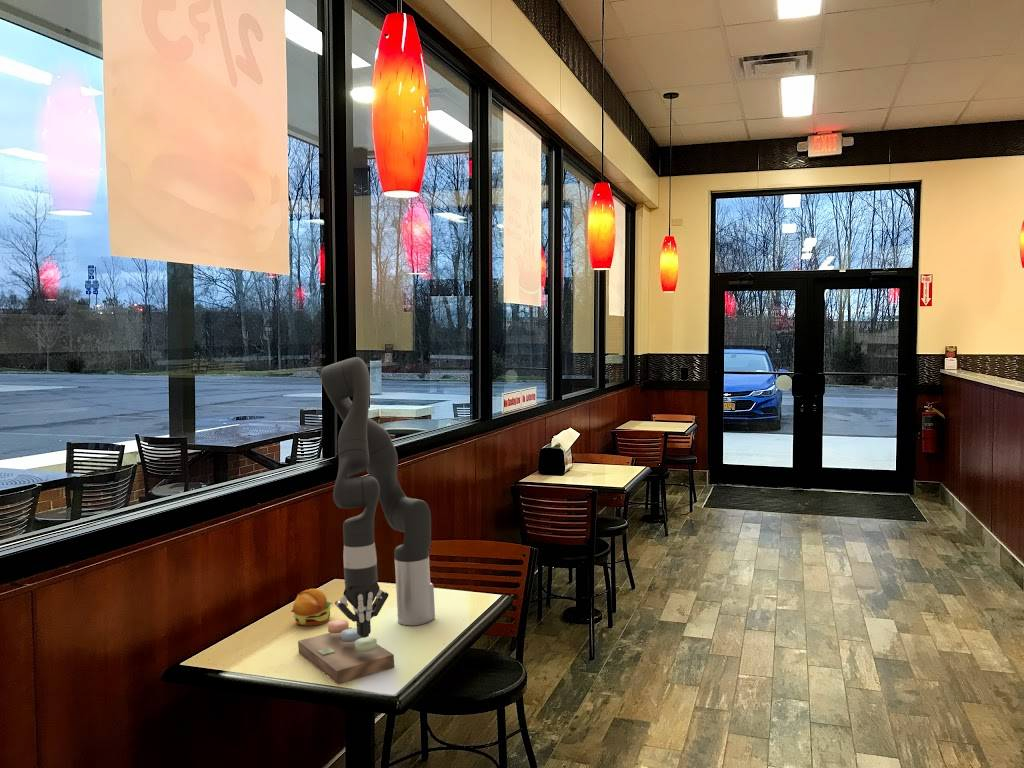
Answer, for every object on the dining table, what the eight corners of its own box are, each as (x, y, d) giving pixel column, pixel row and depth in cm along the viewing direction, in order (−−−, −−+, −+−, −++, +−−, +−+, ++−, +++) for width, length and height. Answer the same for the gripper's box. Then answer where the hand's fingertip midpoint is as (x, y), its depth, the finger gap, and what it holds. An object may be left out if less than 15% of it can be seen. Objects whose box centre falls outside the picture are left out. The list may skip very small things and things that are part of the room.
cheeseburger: (337, 613, 227) (333, 582, 224) (326, 636, 217) (321, 603, 214) (302, 613, 228) (298, 582, 225) (289, 635, 218) (284, 603, 215)
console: (351, 638, 207) (350, 625, 207) (394, 667, 187) (393, 653, 187) (298, 652, 199) (297, 639, 199) (337, 684, 179) (336, 669, 179)
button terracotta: (343, 624, 204) (343, 618, 204) (351, 629, 200) (351, 623, 200) (325, 629, 201) (324, 623, 201) (332, 634, 197) (332, 628, 197)
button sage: (371, 642, 191) (370, 635, 191) (380, 648, 187) (380, 641, 187) (351, 647, 188) (351, 640, 188) (360, 653, 184) (360, 647, 184)
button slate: (357, 633, 198) (356, 626, 197) (365, 638, 193) (365, 632, 193) (337, 638, 195) (337, 631, 195) (346, 644, 191) (345, 637, 190)
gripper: (379, 554, 193) (382, 625, 194) (326, 565, 186) (330, 638, 187) (393, 560, 187) (397, 634, 188) (339, 571, 180) (343, 648, 181)
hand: (364, 636), depth 187 cm, fingers closed
